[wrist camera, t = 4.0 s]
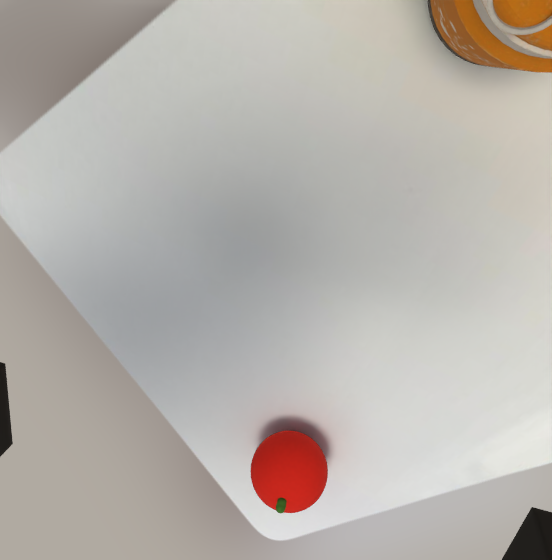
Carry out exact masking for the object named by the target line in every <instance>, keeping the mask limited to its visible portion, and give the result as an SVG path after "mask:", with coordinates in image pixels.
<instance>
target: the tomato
mask: <svg viewBox="0 0 552 560" xmlns="http://www.w3.org/2000/svg"><path fill="white" fill-rule="evenodd" d="M327 474H328V469H327V462H326V459H325V456H324V454H323V452H322V450H321V448H320V447H319V445H318V444H317V443H316V442H315V441H314V440H313V439H312V438H310V437H309V436H307V435H305V434H303V433H300V432H297V431H281V432H277V433H275V434H273V435H271V436H269V437H268V438H266V439H265V440H264V441H263V442H262V443H261V444H260V445H259V447H258V448H257V450H256V452H255V454H254V456H253V459H252V463H251V479H252V483H253V487H254V489H255V491H256V493H257V495H258V496H259V498H260V499H261V500H262V501H263V502H264V503H265V504H266V505H268V506H269V507H271V508H272V509H274V510H276V511H277V512H278V513H283V512H285V513H295V512H299V511H302V510H305V509H307V508H308V507H310V506H311V505H313V504H314V503H315V502H316V501H317V500H318V499H319V497H320V496H321V494H322V493H323V490H324V488H325V486H326V482H327Z"/></svg>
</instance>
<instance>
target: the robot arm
mask: <svg viewBox="0 0 552 560" xmlns="http://www.w3.org/2000/svg"><path fill="white" fill-rule="evenodd" d="M11 445H12V433H11V422H10V411H9V401H8V390H7V378H6V369H5V364H4V363H1V362H0V456H1V455H2V454H3V453H4V452H5V451H6V450H7V449H8V448H9V447H10V446H11ZM502 560H552V512H548V511H544V510H540V509H537V508H533V507H532V508H531V510H530V512H529V513H528V515H527V517H526V519H525V520H524V522H523V524H522V525H521V527H520V529H519V531H518V532H517V534H516V536H515V537H514V539H513V541H512V543H511V544H510V546H509V548H508V550H507V552H506V553H505V555H504V557H503V558H502Z"/></svg>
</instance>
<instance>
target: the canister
mask: <svg viewBox="0 0 552 560" xmlns="http://www.w3.org/2000/svg"><path fill="white" fill-rule="evenodd" d="M428 7H429V12H430V18H431V21H432V24H433V26H434V29H435V31H436V33H437V35H438V36H439V38H440V40H441V41H442V42H443V43H444V45H445V46H446V47H447V48H448V49H449V50H450V51H451V52H453V53H454V54H455V55H457V56H458V57H460V58H462V59H463V60H465V61H468V62H471V63H474V64H478V65H483V66H490V67H498V68H507V69H515V70H523V71H531V72H552V0H428Z"/></svg>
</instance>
